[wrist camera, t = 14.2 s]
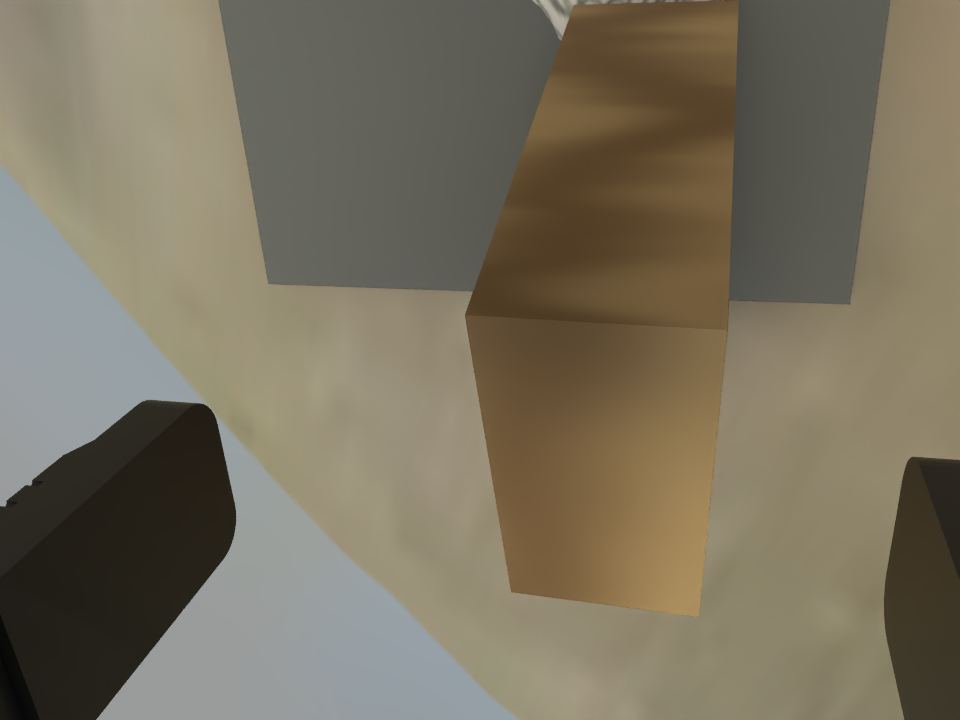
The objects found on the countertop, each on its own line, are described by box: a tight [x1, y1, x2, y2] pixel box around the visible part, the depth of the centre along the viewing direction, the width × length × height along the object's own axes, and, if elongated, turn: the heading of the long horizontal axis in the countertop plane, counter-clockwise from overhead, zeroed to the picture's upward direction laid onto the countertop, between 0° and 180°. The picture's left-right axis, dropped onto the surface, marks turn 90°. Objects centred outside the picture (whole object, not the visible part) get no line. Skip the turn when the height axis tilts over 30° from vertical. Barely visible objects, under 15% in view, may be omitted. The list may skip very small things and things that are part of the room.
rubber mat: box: [219, 0, 890, 304], centre depth 27 cm, size 10×19×1 cm, turn 93°
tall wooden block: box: [465, 0, 739, 617], centre depth 20 cm, size 4×8×12 cm, turn 3°
